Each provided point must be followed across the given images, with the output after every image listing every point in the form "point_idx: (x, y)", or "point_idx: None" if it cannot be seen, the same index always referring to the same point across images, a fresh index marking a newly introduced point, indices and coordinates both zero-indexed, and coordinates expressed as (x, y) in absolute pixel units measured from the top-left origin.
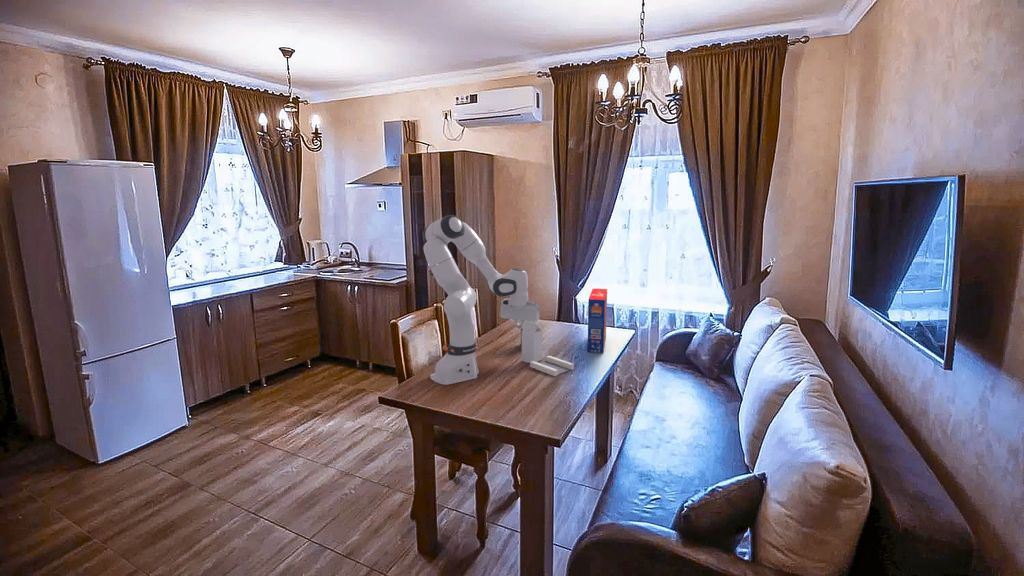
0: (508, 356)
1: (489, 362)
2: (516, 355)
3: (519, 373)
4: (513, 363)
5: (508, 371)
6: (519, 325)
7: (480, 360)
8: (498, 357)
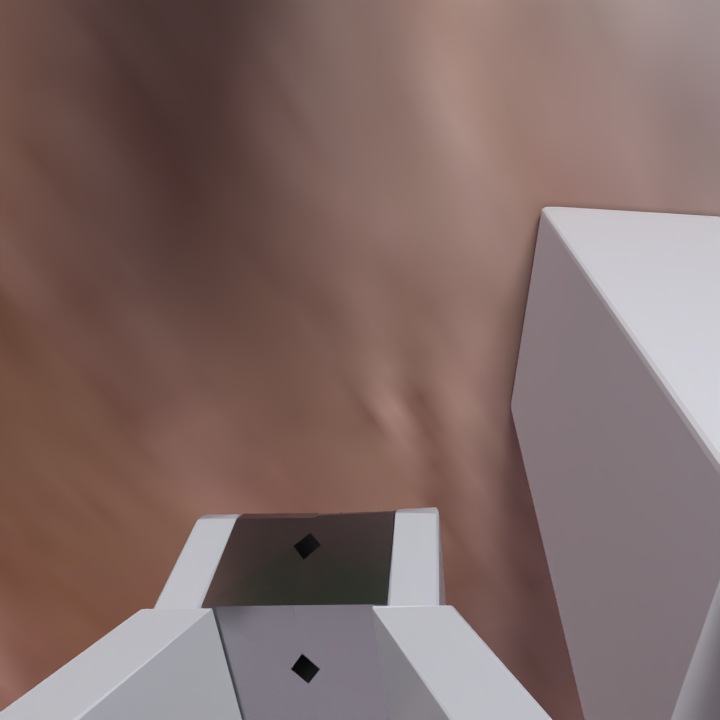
0: (235, 319)
1: None
2: (308, 226)
3: None
4: (444, 500)
5: None
6: (333, 716)
7: (59, 572)
8: (151, 411)
